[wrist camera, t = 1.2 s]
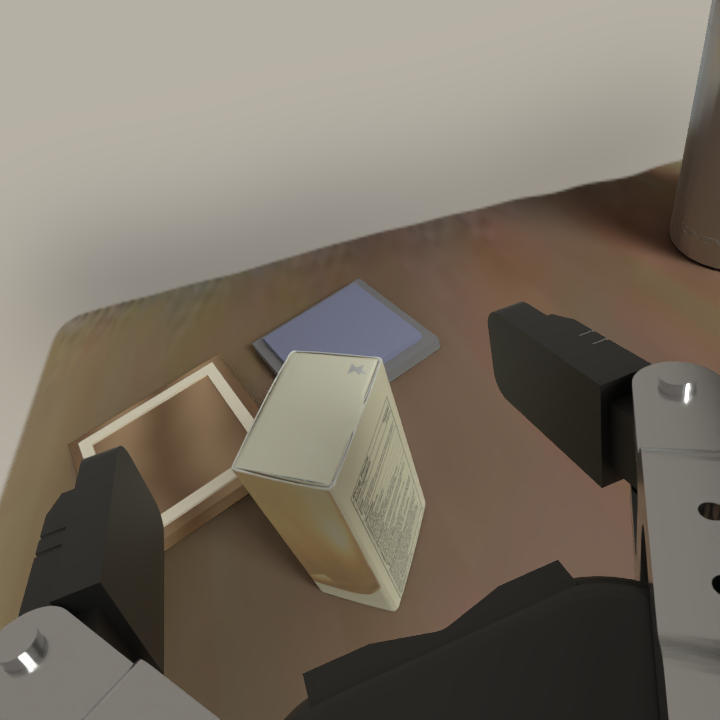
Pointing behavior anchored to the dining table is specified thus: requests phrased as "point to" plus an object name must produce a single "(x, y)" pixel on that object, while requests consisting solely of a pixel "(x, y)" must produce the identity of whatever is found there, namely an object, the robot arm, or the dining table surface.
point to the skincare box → (337, 475)
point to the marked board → (183, 445)
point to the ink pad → (352, 331)
